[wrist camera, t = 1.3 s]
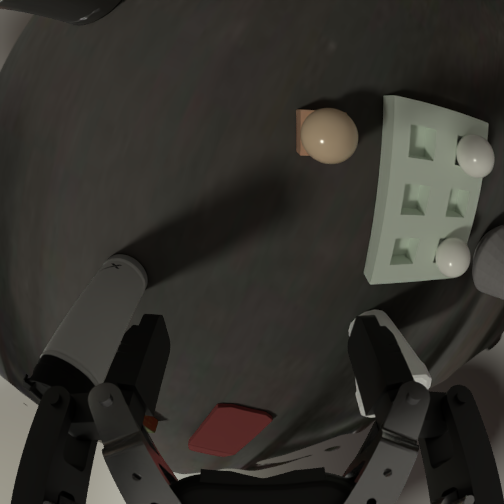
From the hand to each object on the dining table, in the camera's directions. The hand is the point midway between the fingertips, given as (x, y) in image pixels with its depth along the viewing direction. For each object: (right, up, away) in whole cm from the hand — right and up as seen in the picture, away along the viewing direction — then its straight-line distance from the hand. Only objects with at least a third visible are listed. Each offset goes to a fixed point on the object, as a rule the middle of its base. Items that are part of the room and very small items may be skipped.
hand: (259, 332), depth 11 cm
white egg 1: (+24, +4, +18) cm, 30 cm away
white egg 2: (+23, +15, +11) cm, 30 cm away
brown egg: (+6, +14, +12) cm, 19 cm away
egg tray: (+20, +10, +16) cm, 28 cm away
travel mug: (-17, +1, +22) cm, 27 cm away
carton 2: (-7, -37, +44) cm, 57 cm away
